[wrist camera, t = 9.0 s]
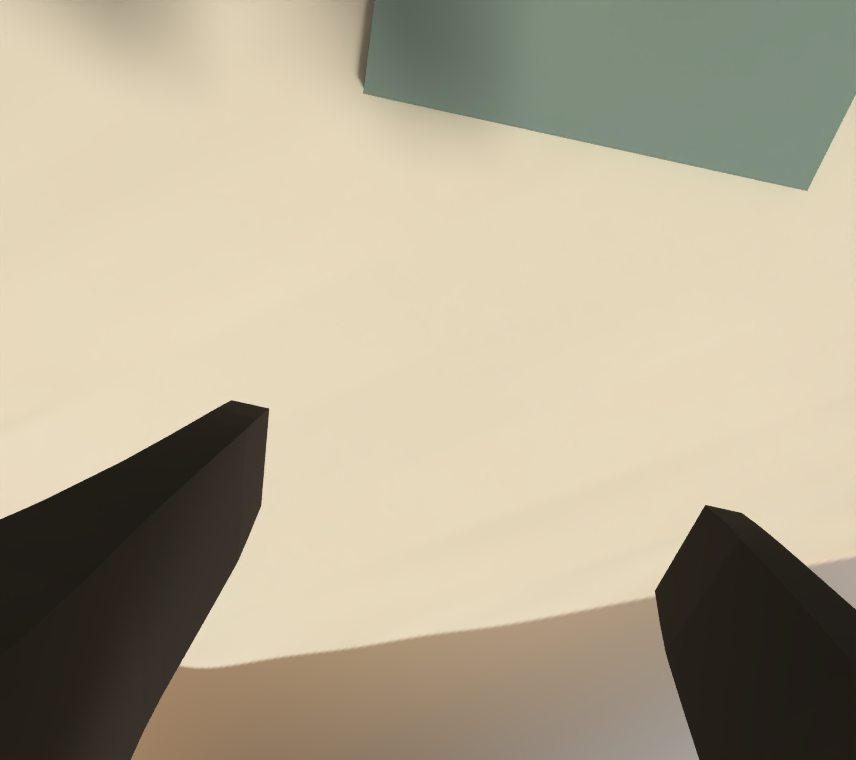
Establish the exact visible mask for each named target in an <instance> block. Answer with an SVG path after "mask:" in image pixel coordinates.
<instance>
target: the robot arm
mask: <svg viewBox="0 0 856 760" xmlns="http://www.w3.org/2000/svg"><path fill="white" fill-rule="evenodd" d="M268 416H269V408H264V407H259V406H255V405H250V404H246V403H241V402H237V401H232V400H231V401H229V402H228V403H226V404H224V405H222V406H220V407H218V408H217V409H215V410H213V411H211V412H209V413H208V414H206V415H204V416H203V417H201V418H199V419H197V420H196V421H194V422H192V423H190V424H189V425H187V426H185V427H183V428H182V429H180V430H178V431H176V432H175V433H173V434H171V435H169V436H168V437H166V438H164V439H162V440H160V441H159V442H157V443H155V444H153V445H151V446H149V447H148V448H146V449H144V450H142V451H140V452H139V453H137V454H135V455H133V456H131V457H129V458H128V459H126V460H124V461H122V462H120V463H118V464H116V465H114V466H112V467H110V468H108V469H106V470H104V471H102V472H100V473H98V474H96V475H94V476H92V477H90V478H88V479H86V480H84V481H82V482H80V483H78V484H76V485H74V486H72V487H70V488H68V489H66V490H64V491H62V492H60V493H58V494H56V495H54V496H52V497H49V498H47V499H45V500H43V501H41V502H39V503H37V504H34V505H32V506H30V507H28V508H25V509H23V510H21V511H19V512H16V513H14V514H12V515H9V516H7V517H5V518H3V519H0V760H131V758H132V755H133V753H134V751H135V749H136V747H137V744H138V742H139V740H140V738H141V736H142V733H143V731H144V729H145V727H146V725H147V723H148V721H149V719H150V718H151V716H152V714H153V712H154V709H155V708H156V706H157V704H158V702H159V700H160V698H161V696H162V695H163V693H164V691H165V689H166V688H167V686H168V684H169V682H170V680H171V679H172V677H173V675H174V673H175V672H176V670H177V668H178V666H179V665H180V663H181V661H182V659H183V658H184V656H185V654H186V652H187V651H188V649H189V647H190V645H191V644H192V642H193V640H194V638H195V637H196V635H197V633H198V631H199V630H200V628H201V626H202V624H203V622H204V621H205V619H206V617H207V615H208V614H209V612H210V610H211V608H212V607H213V605H214V603H215V601H216V600H217V598H218V596H219V594H220V592H221V591H222V589H223V587H224V585H225V584H226V582H227V580H228V578H229V576H230V575H231V573H232V571H233V569H234V567H235V566H236V564H237V562H238V560H239V558H240V555H241V553H242V551H243V548H244V546H245V544H246V541H247V539H248V537H249V534H250V532H251V529H252V527H253V524H254V522H255V519H256V517H257V515H258V512H259V510H260V507H261V500H262V488H263V476H264V464H265V452H266V440H267V428H268ZM655 594H656V600H657V607H658V614H659V620H660V626H661V631H662V636H663V640H664V646H665V651H666V655H667V659H668V662H669V665H670V668H671V672H672V675H673V678H674V682H675V685H676V688H677V691H678V694H679V698H680V701H681V704H682V707H683V710H684V714H685V717H686V720H687V723H688V726H689V729H690V732H691V735H692V738H693V741H694V745H695V748H696V751H697V754H698V757H699V760H856V609H855V608H853V607H852V606H851V605H850V604H849V603H847V602H846V601H845V600H844V599H843V598H842V597H841V596H840V595H838V594H837V593H836V592H835V591H834V590H833V589H832V588H831V587H829V586H828V585H827V584H826V583H825V582H824V581H822V579H820V578H819V577H818V576H817V575H816V574H815V573H813V572H812V571H811V570H810V569H809V568H808V567H807V566H806V565H804V564H803V563H802V562H801V561H800V560H799V559H798V558H796V557H795V556H794V555H793V554H792V553H791V552H790V551H788V550H787V549H786V548H785V547H784V546H783V545H781V544H780V543H779V542H778V541H777V540H775V539H774V538H773V537H772V536H771V535H769V534H768V533H767V532H766V531H765V530H763V529H762V528H761V527H760V526H758V525H757V524H756V523H755V522H753V521H752V520H750V519H749V518H748V517H746V516H745V515H744V514H742V513H739V512H735V511H730V510H726V509H721V508H716V507H712V506H707V505H705V507H704V508H703V510H702V512H701V514H700V515H699V517H698V519H697V520H696V522H695V524H694V525H693V527H692V529H691V531H690V532H689V534H688V536H687V537H686V539H685V541H684V542H683V544H682V546H681V548H680V549H679V551H678V553H677V554H676V556H675V558H674V559H673V561H672V563H671V565H670V566H669V568H668V570H667V571H666V573H665V575H664V576H663V578H662V580H661V582H660V583H659V585H658V587H657V588H656V590H655Z"/></svg>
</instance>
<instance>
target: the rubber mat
mask: <svg viewBox="0 0 856 760" xmlns="http://www.w3.org/2000/svg"><path fill="white" fill-rule="evenodd" d="M363 93H364V94H368V95H373V96H377V97H382V98H386V99H391V100H395V101H400V102H405V103H409V104H414V105H418V106H423V107H427V108H432V109H436V110H441V111H446V112H450V113H455V114H459V115H464V116H468V117H473V118H477V119H482V120H487V121H491V122H496V123H500V124H505V125H509V126H514V127H518V128H523V129H528V130H532V131H537V132H541V133H546V134H550V135H555V136H559V137H564V138H569V139H573V140H578V141H582V142H587V143H591V144H596V145H600V146H605V147H610V148H614V149H619V150H623V151H628V152H632V153H637V154H641V155H646V156H650V157H655V158H660V159H664V160H669V161H673V162H678V163H682V164H687V165H691V166H696V167H701V168H705V169H710V170H714V171H719V172H723V173H728V174H732V175H737V176H742V177H746V178H751V179H755V180H760V181H764V182H769V183H773V184H778V185H783V186H787V187H792V188H796V189H801V190H805V191H807V190H808V188H809V186H810V184H811V182H812V180H813V178H814V176H815V174H816V172H817V170H818V168H819V166H820V164H821V162H822V160H823V158H824V156H825V154H826V152H827V150H828V148H829V146H830V144H831V142H832V140H833V138H834V136H835V134H836V132H837V130H838V128H839V126H840V124H841V122H842V120H843V118H844V116H845V114H846V112H847V110H848V108H849V106H850V105H851V103H852V101H853V99H854V97H855V95H856V0H375V1H374V9H373V17H372V26H371V34H370V42H369V50H368V58H367V67H366V75H365V83H364V91H363Z"/></svg>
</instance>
